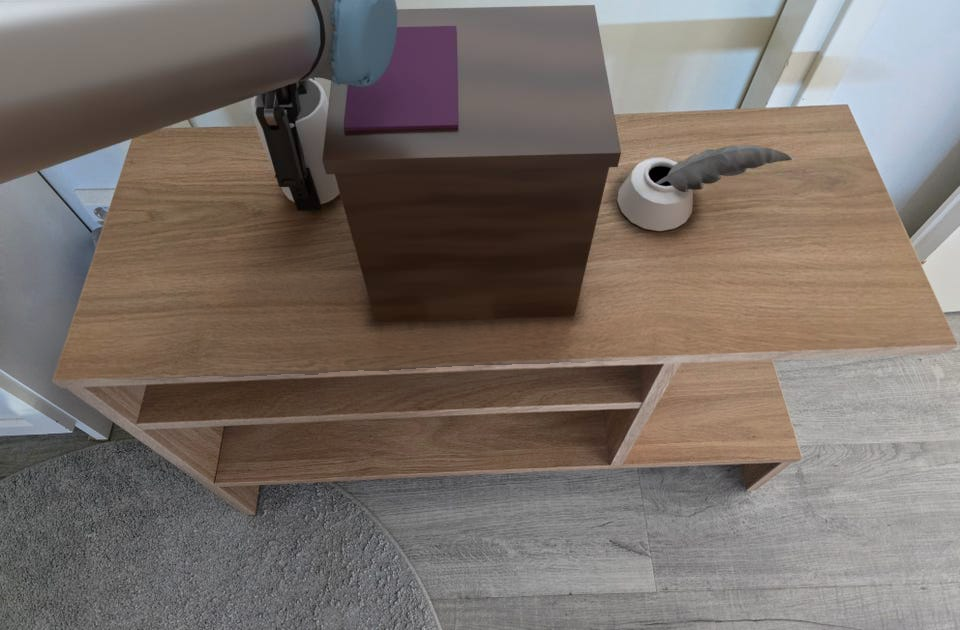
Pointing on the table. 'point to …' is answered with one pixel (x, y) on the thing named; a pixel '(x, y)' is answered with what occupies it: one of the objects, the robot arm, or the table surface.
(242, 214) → the table surface
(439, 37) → the purple rectangular slab
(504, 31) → the box
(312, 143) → the cup
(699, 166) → the inkwell
